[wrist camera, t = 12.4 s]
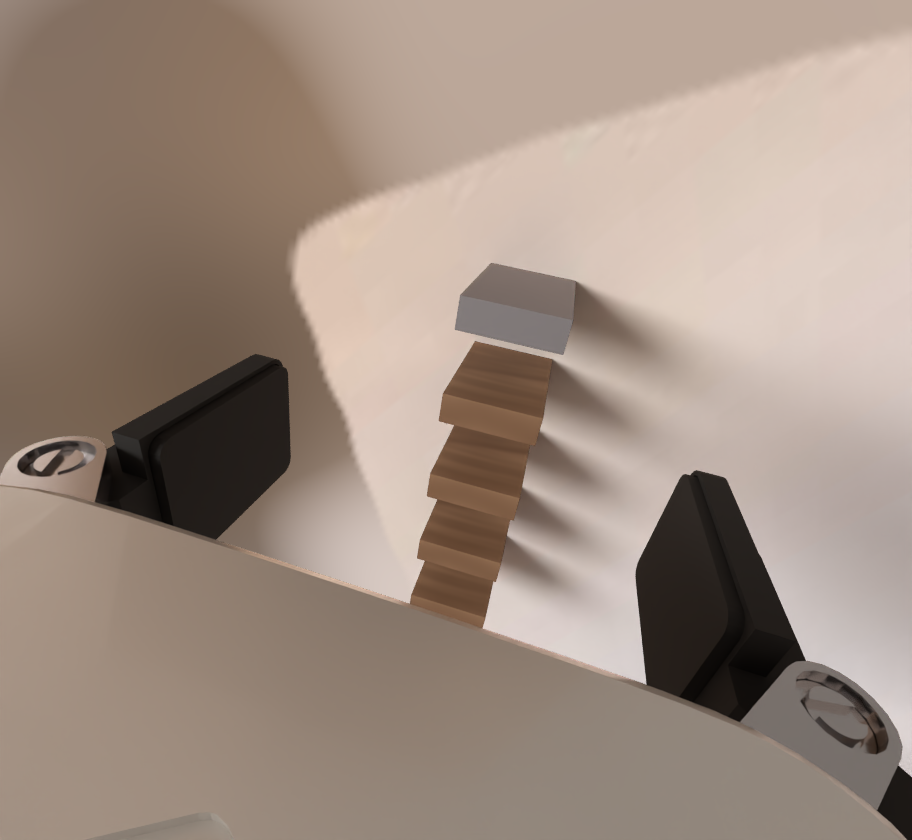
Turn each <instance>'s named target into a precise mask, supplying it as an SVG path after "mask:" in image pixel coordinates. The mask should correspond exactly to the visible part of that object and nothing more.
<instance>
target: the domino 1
mask: <svg viewBox="0 0 912 840" xmlns="http://www.w3.org/2000/svg"><path fill="white" fill-rule="evenodd" d="M575 287H576V281H573V280H569V279H564V278H559V277H555V276H550V275H545V274H541V273H536V272H531V271H526V270H522V269H517V268H512V267H508V266H503V265H498V264H493V263H491V264H490V265H489V266H488V267H487V268H486V269H485V270H484V271H483V272H482V273H481V274H480V275H479V276H478V277H477V278H476V279H475V280H474V281H473V282H472V283H471V284H470V286H469V287H468V288H467V289H466V290H465V291H464V292H463V293H462V294H461V295H460V300H459V306H458V312H457V319H456V325H455V330H458V331H463V332H467V333H471V334H476V335H480V336H484V337H488V338H493V339H497V340H501V341H506V342H510V343H514V344H518V345H523V346H527V347H531V348H536V349H540V350H544V351H548V352H553V353H557V354H561V355H563V354H564V350H565V347H566V344H567V340H568V337H569V333H570V330H571V327H572V323H573V317H574V302H575Z"/></svg>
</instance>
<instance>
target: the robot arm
mask: <svg viewBox="0 0 912 840" xmlns="http://www.w3.org/2000/svg"><path fill="white" fill-rule="evenodd" d="M288 393H289V392H288V372H287V369H286V368H284V367H283V365H282V363H281V362H280V361H279V360H277V359H273V358H269V357H266V356H262V355H257V354H255V355H252V356H250V357H248V358H246V359H245V360H243V361H241V362H239V363H237V364H235V365H234V366H232V367H230V368H228V369H226V370H224V371H223V372H221V373H219V374H217V375H215V376H213V377H212V378H210V379H208V380H206V381H204V382H202V383H201V384H199V385H197V386H195V387H193V388H191V389H189V390H188V391H186V392H184V393H182V394H180V395H178V396H177V397H175V398H173V399H171V400H169V401H167V402H166V403H164V404H162V405H160V406H158V407H157V408H155V409H153V410H151V411H149V412H147V413H146V414H144V415H142V416H140V417H138V418H136V419H135V420H133V421H131V422H129V423H127V424H125V425H123V426H122V427H120V428H118V429H116V430H114V431H112V435H113V438H114V442H115V445H113V446H112V447H110V448H108V449H106V446H105V445H104V444H103V443H102V442H101V441H99V440H97V439H94V438H91V437H84V436H65V437H59V438H53V439H48V440H45V441H41V442H38V443H35V444H33V445H30V446H28V447H26V448H23V449H22V450H21V451H19V452H17V453H16V454H15V455H13V456H12V457H11V458H10V459H9V461H8V462H7V463H6V465H5V467H4V469H3V471H2V473H1V475H0V840H912V777H911V776H910V775H908V774H907V773H906V772H905V771H904V770H903V769H902V768H901V767H899V766H898V764H899V762H900V760H901V755H902V743H901V740H900V737H899V734H898V731H897V729H896V728H895V726H894V724H893V723H892V721H891V719H890V718H889V716H888V715H887V713H886V712H885V711H884V710H883V709H882V708H881V706H880V705H879V704H878V703H877V702H876V701H875V700H874V698H873V697H871V696H870V695H869V694H868V693H867V692H866V691H864V690H863V689H862V688H861V687H860V686H859V685H858V684H856V683H855V682H853V681H852V680H850V679H849V678H847V677H846V676H844V675H843V674H841V673H840V672H838V671H835V670H833V669H831V668H829V667H827V666H825V665H822V664H818V663H814V662H810V661H806V660H805V658H804V655H803V653H802V651H801V648H800V646H799V644H798V641H797V639H796V637H795V634H794V632H793V630H792V628H791V625H790V623H789V621H788V618H787V616H786V614H785V611H784V609H783V607H782V604H781V602H780V600H779V598H778V595H777V593H776V591H775V588H774V586H773V584H772V581H771V579H770V577H769V574H768V572H767V570H766V568H765V565H764V563H763V561H762V558H761V556H760V555H759V553H758V551H757V549H756V547H755V544H754V542H753V540H752V537H751V535H750V533H749V530H748V528H747V526H746V523H745V521H744V519H743V516H742V514H741V512H740V509H739V507H738V505H737V503H736V500H735V498H734V496H733V493H732V491H731V489H730V486H729V484H728V482H727V480H726V479H725V478H724V477H720V476H716V475H713V474H709V473H705V472H701V471H697V470H696V471H694V472H693V473H692V474H691V475H687V474H684V475H683V476H682V477H681V478H680V480H679V482H678V484H677V486H676V488H675V490H674V492H673V494H672V496H671V498H670V500H669V502H668V504H667V506H666V508H665V510H664V512H663V514H662V516H661V518H660V519H659V521H658V523H657V525H656V527H655V529H654V531H653V533H652V535H651V537H650V539H649V541H648V543H647V545H646V547H645V549H644V551H643V553H642V555H641V557H640V559H639V562H638V564H637V568H636V587H637V596H638V606H639V616H640V625H641V635H642V645H643V654H644V664H645V673H646V683H647V685H645V684H643V683H640V682H637V681H635V680H632V679H629V678H626V677H623V676H620V675H617V674H614V673H611V672H608V671H605V670H603V669H600V668H597V667H594V666H591V665H588V664H586V663H583V662H580V661H577V660H574V659H571V658H569V657H566V656H563V655H560V654H557V653H554V652H551V651H548V650H545V649H542V648H539V647H536V646H533V645H530V644H527V643H524V642H521V641H518V640H515V639H512V638H510V637H507V636H504V635H501V634H498V633H495V632H492V631H489V630H486V629H483V628H480V627H477V626H474V625H471V624H468V623H465V622H462V621H459V620H456V619H453V618H451V617H448V616H445V615H442V614H439V613H436V612H433V611H430V610H427V609H424V608H421V607H418V606H415V605H412V604H409V603H406V602H403V601H400V600H397V599H394V598H391V597H388V596H385V595H382V594H379V593H376V592H372V591H370V590H367V589H364V588H360V587H358V586H355V585H352V584H349V583H345V582H342V581H340V580H337V579H333V578H331V577H327V576H325V575H321V574H319V573H316V572H312V571H310V570H306V569H303V568H300V567H297V566H294V565H291V564H288V563H285V562H282V561H279V560H276V559H273V558H270V557H267V556H264V555H261V554H258V553H255V552H252V551H248V550H245V549H242V548H239V547H236V546H233V545H230V544H227V543H224V542H221V541H218V540H216V539H217V538H218V537H219V536H220V535H221V534H222V533H223V532H224V531H225V530H226V529H227V528H228V527H229V526H230V525H231V524H232V523H234V522H235V520H237V518H239V516H241V515H242V514H243V513H244V511H246V510H247V509H248V508H249V507H250V506H251V505H252V504H253V503H254V502H255V501H256V500H257V499H258V498H259V497H260V496H261V495H262V494H263V493H264V492H265V491H266V490H267V489H268V488H269V487H270V486H271V485H272V484H273V483H274V482H275V481H276V480H277V479H278V478H279V477H280V476H281V475H282V474H283V473H284V472H285V471H286V470H287V468H288V466H289V463H290V457H291V455H290V424H289V394H288Z"/></svg>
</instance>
